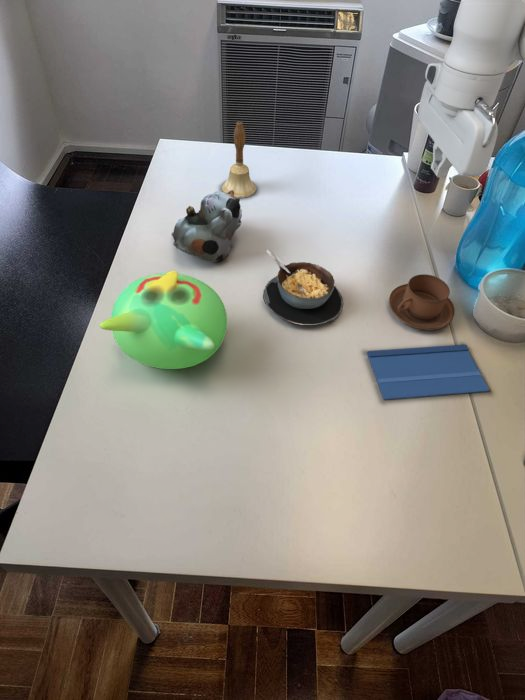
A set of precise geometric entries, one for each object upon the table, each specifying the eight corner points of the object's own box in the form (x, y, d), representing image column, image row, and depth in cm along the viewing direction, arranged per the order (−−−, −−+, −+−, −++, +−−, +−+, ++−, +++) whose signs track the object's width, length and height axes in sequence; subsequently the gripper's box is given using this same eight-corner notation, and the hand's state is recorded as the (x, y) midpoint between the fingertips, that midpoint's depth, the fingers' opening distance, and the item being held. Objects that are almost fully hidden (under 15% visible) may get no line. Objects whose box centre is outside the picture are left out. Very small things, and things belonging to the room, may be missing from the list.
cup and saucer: (431, 345, 83) (443, 321, 78) (374, 312, 88) (382, 287, 83) (462, 312, 89) (474, 287, 85) (407, 282, 94) (416, 257, 90)
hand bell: (258, 197, 112) (261, 130, 100) (223, 198, 111) (222, 130, 99) (253, 179, 117) (256, 113, 105) (220, 180, 116) (219, 113, 104)
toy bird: (231, 320, 85) (231, 255, 74) (220, 397, 74) (218, 333, 63) (132, 312, 85) (117, 246, 74) (106, 388, 74) (84, 322, 63)
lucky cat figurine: (171, 228, 102) (195, 166, 96) (222, 249, 106) (248, 191, 99) (167, 253, 89) (193, 184, 83) (225, 276, 93) (254, 211, 87)
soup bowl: (287, 340, 82) (291, 310, 77) (247, 285, 91) (248, 254, 86) (357, 315, 87) (366, 285, 82) (312, 265, 96) (317, 234, 91)
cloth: (464, 346, 83) (465, 343, 83) (488, 391, 77) (490, 389, 77) (366, 352, 81) (367, 350, 81) (383, 400, 75) (384, 397, 74)
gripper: (521, 116, 63) (481, 206, 74) (460, 60, 76) (434, 144, 87) (477, 117, 62) (443, 208, 73) (423, 61, 75) (401, 145, 86)
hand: (438, 173), depth 80 cm, fingers closed
